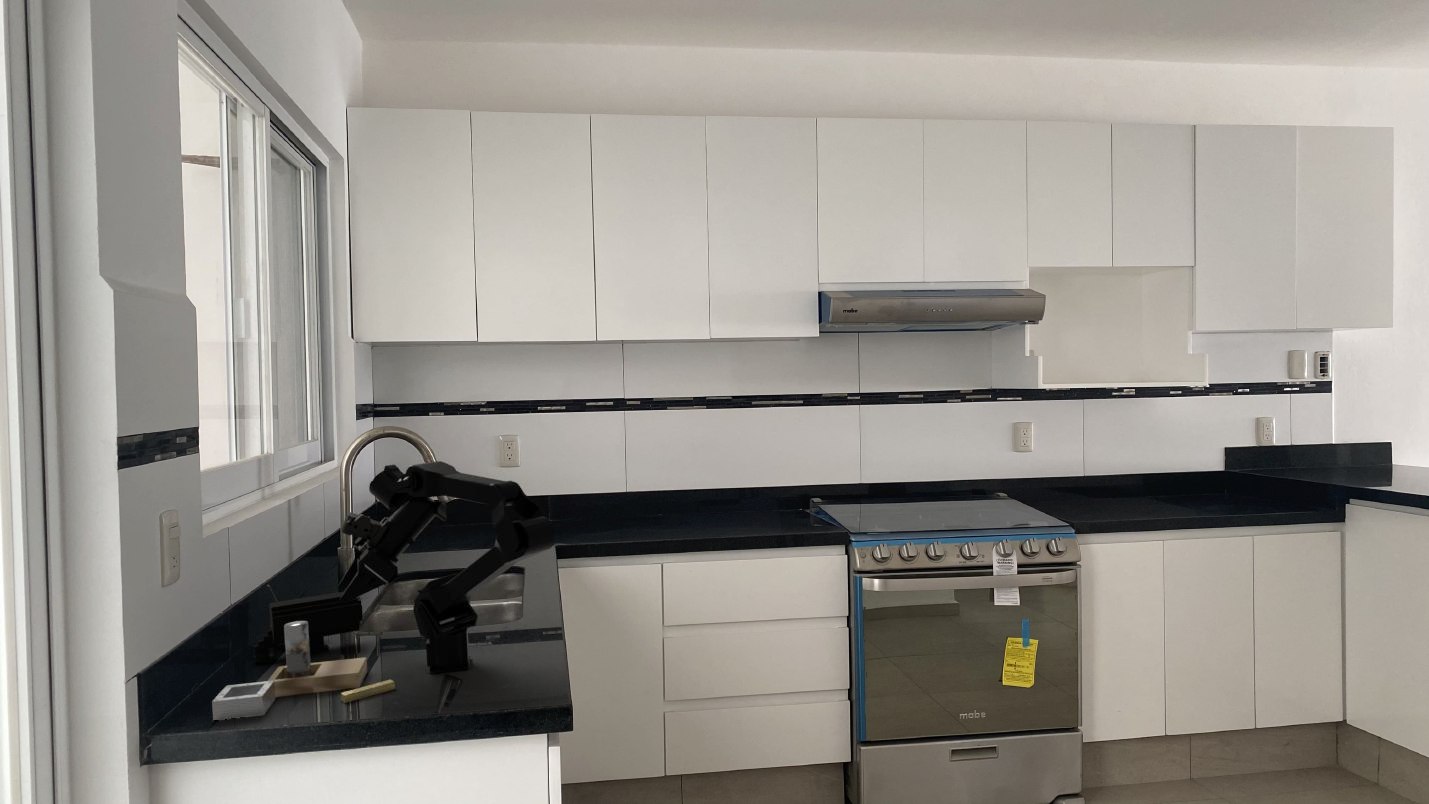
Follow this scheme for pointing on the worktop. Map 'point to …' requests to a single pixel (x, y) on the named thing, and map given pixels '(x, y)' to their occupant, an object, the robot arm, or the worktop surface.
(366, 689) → the bar
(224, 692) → the socket block
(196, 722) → the worktop surface
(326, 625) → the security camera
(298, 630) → the tin canister
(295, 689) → the wooden box
